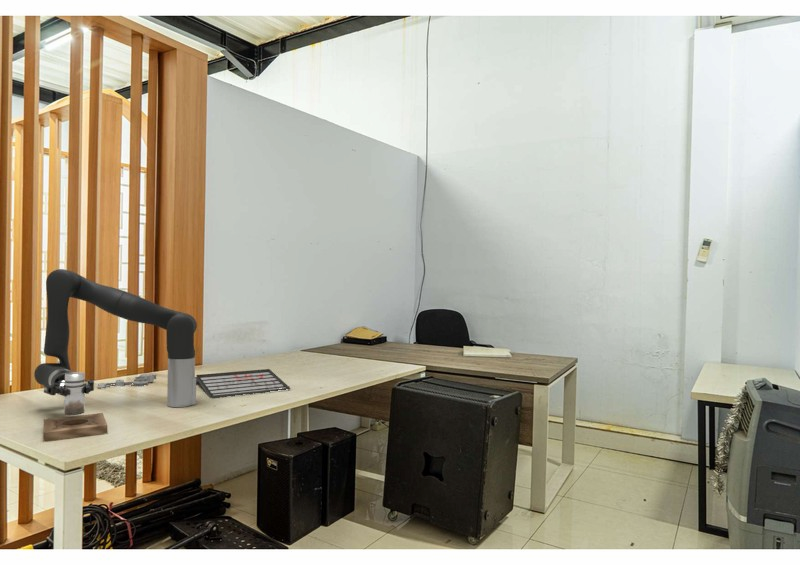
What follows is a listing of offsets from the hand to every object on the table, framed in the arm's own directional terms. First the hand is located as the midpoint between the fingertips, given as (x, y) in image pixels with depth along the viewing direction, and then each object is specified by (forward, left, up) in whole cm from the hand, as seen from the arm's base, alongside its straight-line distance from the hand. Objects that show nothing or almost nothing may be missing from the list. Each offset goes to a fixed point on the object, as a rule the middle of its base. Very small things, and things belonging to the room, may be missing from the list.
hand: (76, 391), depth 163 cm
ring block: (0, -2, -12) cm, 13 cm away
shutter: (-62, -40, -13) cm, 75 cm away
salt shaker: (+1, -3, -7) cm, 7 cm away
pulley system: (-24, -67, -13) cm, 72 cm away
